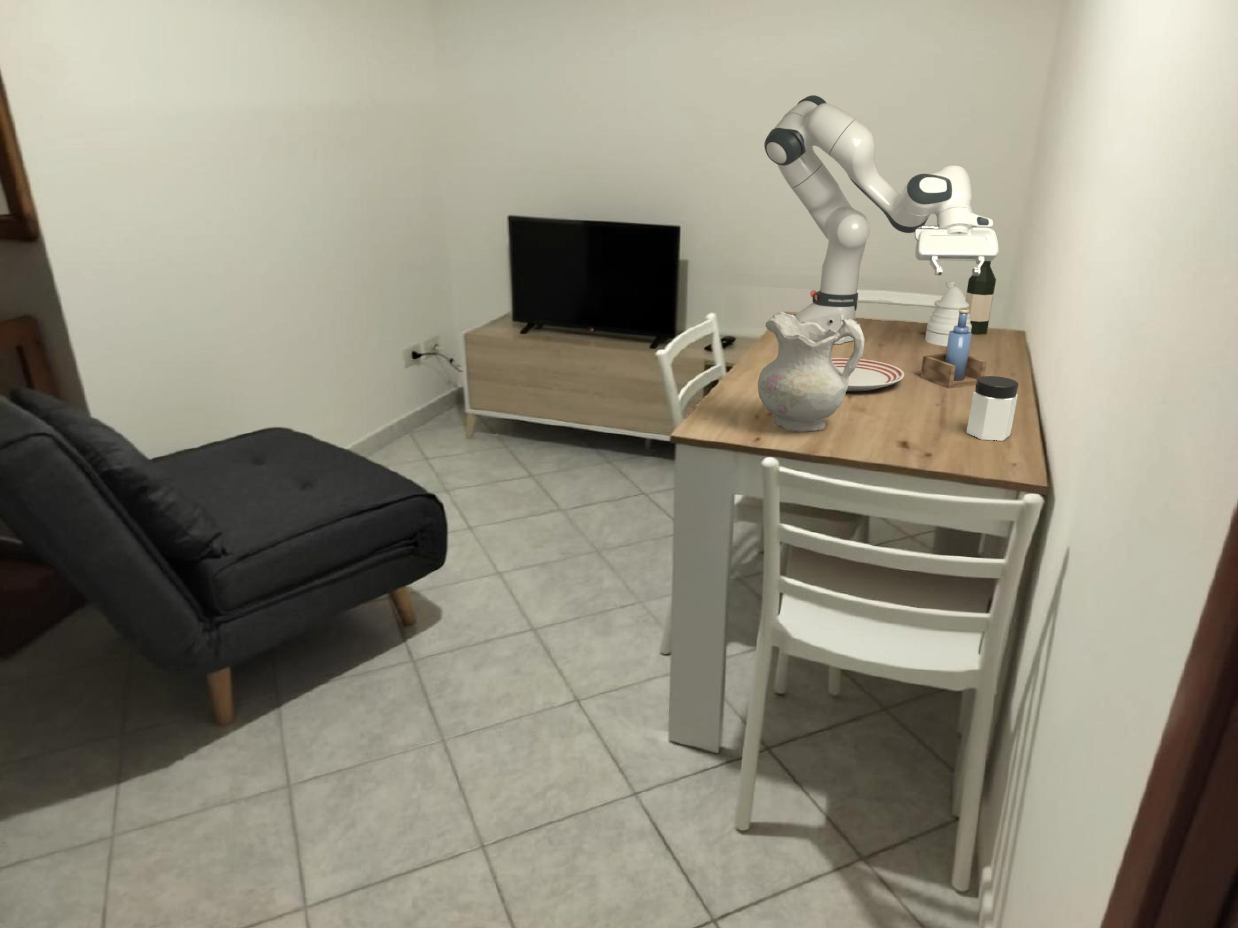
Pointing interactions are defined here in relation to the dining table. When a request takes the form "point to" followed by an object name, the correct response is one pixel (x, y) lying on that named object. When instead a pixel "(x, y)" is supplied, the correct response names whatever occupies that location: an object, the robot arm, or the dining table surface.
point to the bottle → (959, 346)
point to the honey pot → (946, 315)
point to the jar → (992, 408)
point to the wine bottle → (980, 298)
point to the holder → (950, 371)
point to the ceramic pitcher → (806, 372)
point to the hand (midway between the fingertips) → (957, 274)
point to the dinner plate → (869, 374)
